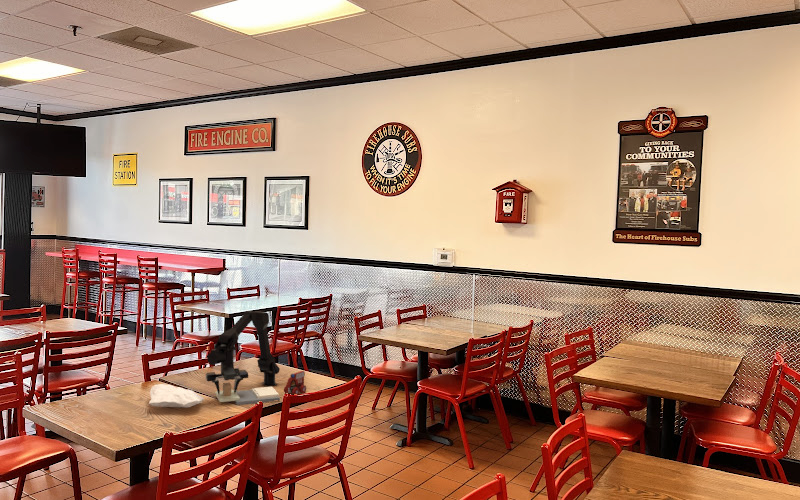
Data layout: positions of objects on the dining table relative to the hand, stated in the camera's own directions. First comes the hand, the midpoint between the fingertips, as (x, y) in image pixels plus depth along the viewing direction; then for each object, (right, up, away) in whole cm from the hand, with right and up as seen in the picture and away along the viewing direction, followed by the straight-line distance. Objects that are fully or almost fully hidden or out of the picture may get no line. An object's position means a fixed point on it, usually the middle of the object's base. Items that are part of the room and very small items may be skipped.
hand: (226, 393), depth 291 cm
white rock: (-22, -4, -11) cm, 24 cm away
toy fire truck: (+29, -4, +15) cm, 33 cm away
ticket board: (+12, -3, +6) cm, 13 cm away
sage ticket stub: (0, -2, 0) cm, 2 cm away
